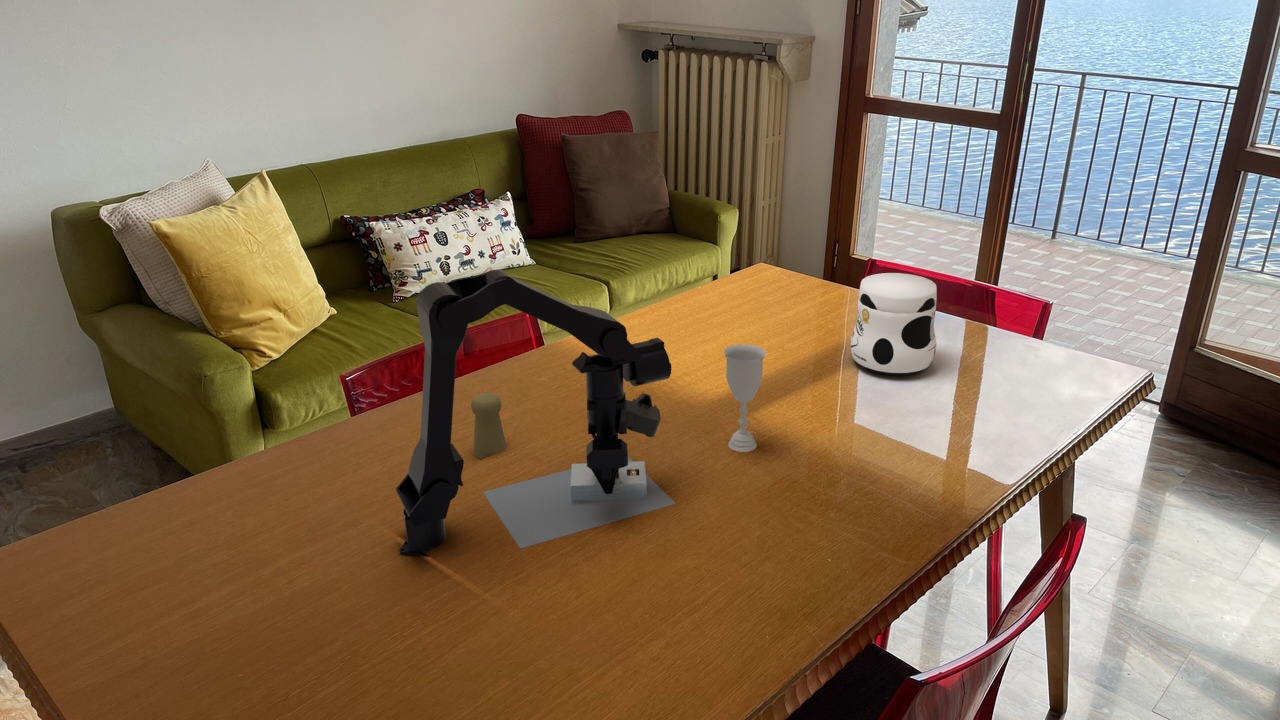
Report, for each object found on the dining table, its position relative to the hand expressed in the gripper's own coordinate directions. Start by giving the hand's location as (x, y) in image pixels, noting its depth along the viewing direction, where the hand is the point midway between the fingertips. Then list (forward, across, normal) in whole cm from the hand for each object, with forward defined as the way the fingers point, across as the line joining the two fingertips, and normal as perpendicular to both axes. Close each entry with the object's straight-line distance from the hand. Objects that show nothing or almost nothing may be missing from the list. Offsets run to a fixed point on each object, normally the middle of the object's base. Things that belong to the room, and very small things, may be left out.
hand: (608, 478), depth 152 cm
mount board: (+3, -2, +5) cm, 6 cm away
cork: (+3, +16, +21) cm, 27 cm away
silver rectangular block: (+2, 0, 0) cm, 2 cm away
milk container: (+3, +48, -60) cm, 77 cm away
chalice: (+3, +15, -24) cm, 28 cm away
